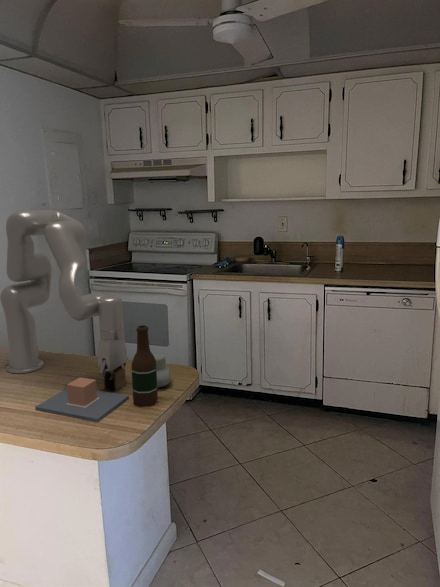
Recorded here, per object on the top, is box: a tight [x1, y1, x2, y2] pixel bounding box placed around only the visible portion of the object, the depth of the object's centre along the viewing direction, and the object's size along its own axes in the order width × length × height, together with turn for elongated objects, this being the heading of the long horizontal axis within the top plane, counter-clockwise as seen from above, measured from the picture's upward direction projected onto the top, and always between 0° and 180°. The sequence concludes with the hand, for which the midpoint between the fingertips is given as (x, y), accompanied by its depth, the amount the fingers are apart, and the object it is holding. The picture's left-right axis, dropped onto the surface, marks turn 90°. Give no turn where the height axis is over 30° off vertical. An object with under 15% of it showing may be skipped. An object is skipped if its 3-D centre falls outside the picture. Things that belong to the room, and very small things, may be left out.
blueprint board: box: [34, 388, 130, 423], centre depth 134 cm, size 22×16×1 cm
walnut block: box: [103, 368, 127, 392], centre depth 146 cm, size 5×5×6 cm
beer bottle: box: [131, 325, 158, 408], centre depth 133 cm, size 8×8×24 cm
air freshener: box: [152, 353, 171, 389], centre depth 148 cm, size 11×8×10 cm
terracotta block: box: [66, 377, 98, 406], centre depth 134 cm, size 6×6×6 cm
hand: (115, 386), depth 146 cm, fingers closed on walnut block, 5 cm apart
